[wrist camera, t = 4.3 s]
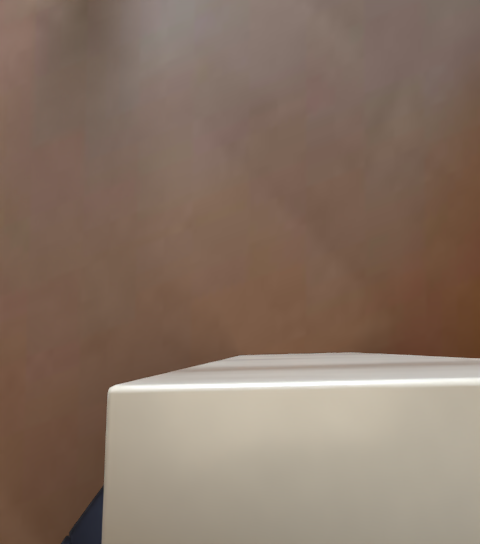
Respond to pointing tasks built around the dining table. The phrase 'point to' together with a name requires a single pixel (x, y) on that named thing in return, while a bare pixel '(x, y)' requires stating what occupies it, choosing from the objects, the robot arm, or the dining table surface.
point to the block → (296, 452)
